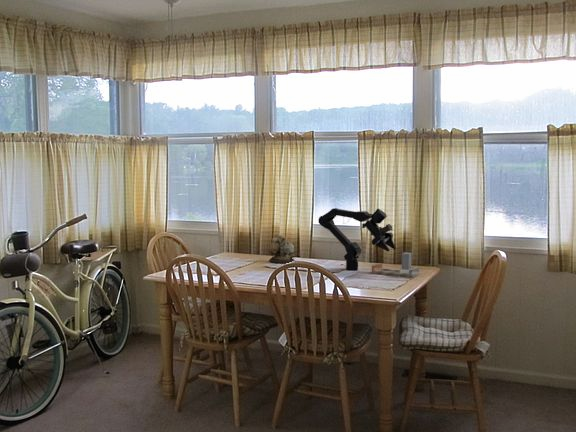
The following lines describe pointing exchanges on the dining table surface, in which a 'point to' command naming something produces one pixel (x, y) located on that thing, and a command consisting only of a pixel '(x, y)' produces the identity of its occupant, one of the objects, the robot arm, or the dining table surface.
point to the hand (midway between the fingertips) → (392, 249)
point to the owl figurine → (281, 250)
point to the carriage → (406, 262)
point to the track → (394, 271)
